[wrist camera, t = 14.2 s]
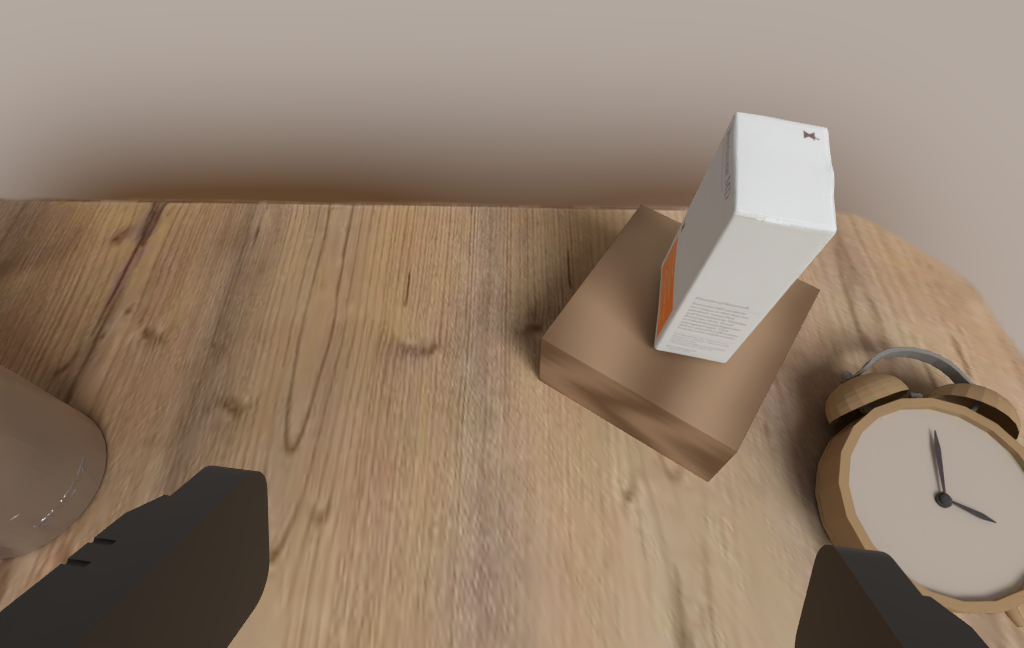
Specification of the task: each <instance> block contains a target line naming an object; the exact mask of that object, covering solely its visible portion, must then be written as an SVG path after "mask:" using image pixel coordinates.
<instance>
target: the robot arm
mask: <svg viewBox="0 0 1024 648" xmlns="http://www.w3.org/2000/svg"><path fill="white" fill-rule="evenodd" d="M106 458H107V454H106V444H105V440H104V438H103V435H102V432H101V430H100V429H99V428H98V426H97V425H96V424H95V423H94V421H93V420H91V419H90V418H88V417H87V416H86V415H84V414H83V413H81V412H79V411H78V410H76V409H74V408H73V407H71V406H69V405H67V404H66V403H64V402H62V401H61V400H59V399H57V398H56V397H54V396H52V395H51V394H49V393H48V392H46V391H44V390H43V389H41V388H39V387H38V386H36V385H34V384H33V383H31V382H29V381H28V380H26V379H24V378H23V377H21V376H19V375H17V374H16V373H14V372H12V371H11V370H9V369H7V368H6V367H4V366H2V365H1V364H0V559H6V558H12V557H16V556H19V555H23V554H26V553H29V552H31V551H33V550H35V549H37V548H39V547H41V546H43V545H46V544H47V543H49V542H50V541H52V540H53V539H55V538H56V537H57V536H59V535H60V534H62V533H63V532H64V531H65V530H66V529H67V528H69V527H70V526H71V525H72V524H73V523H74V522H75V521H76V520H77V519H78V518H79V517H80V515H81V514H82V513H83V512H84V510H85V509H86V508H87V507H88V505H89V504H90V503H91V501H92V499H93V497H94V496H95V494H96V492H97V490H98V488H99V486H100V483H101V480H102V478H103V475H104V472H105V465H106ZM268 571H269V531H268V497H267V483H266V479H265V476H264V475H263V474H262V473H261V472H258V471H251V470H243V469H235V468H227V467H219V466H207V467H205V468H204V469H202V470H201V471H200V472H198V473H197V474H196V475H195V476H194V477H192V478H191V479H190V480H189V481H188V482H186V483H185V484H184V485H183V486H182V487H180V488H179V489H178V490H177V491H176V492H174V493H173V494H172V495H171V496H168V495H163V496H161V497H159V498H157V499H155V500H153V501H150V502H148V503H146V504H144V505H142V506H140V507H138V508H135V509H133V510H131V511H129V512H127V513H125V514H124V515H122V516H121V517H120V518H119V519H117V520H116V521H115V522H114V523H112V524H111V525H110V526H108V527H107V528H106V529H105V530H103V531H102V532H101V533H100V534H98V535H97V536H96V537H95V538H94V541H93V543H87V544H86V545H84V546H83V547H82V548H81V549H79V550H78V551H77V552H76V553H74V554H73V555H72V556H70V557H69V558H68V561H67V563H66V564H65V565H64V564H60V565H59V566H58V567H57V568H55V569H54V570H53V571H51V572H50V573H49V574H48V575H46V576H45V577H44V578H43V579H41V580H40V581H39V582H38V583H36V584H35V585H34V586H32V587H31V588H30V589H29V590H27V591H26V592H25V593H24V594H22V595H21V596H20V597H19V598H17V599H16V600H15V601H13V602H12V603H11V604H10V605H8V606H7V607H6V608H5V609H3V610H2V611H1V612H0V648H227V647H228V645H229V644H230V643H231V641H232V640H233V638H234V637H235V636H236V634H237V633H238V631H239V630H240V628H241V627H242V626H243V624H244V623H245V621H246V620H247V619H248V617H249V616H250V614H251V613H252V612H253V610H254V609H255V607H256V605H257V604H258V602H259V600H260V598H261V595H262V593H263V590H264V587H265V584H266V581H267V576H268ZM795 648H989V647H988V646H987V645H986V643H985V642H984V641H983V640H982V639H981V638H980V636H979V635H978V634H977V633H976V632H975V631H974V629H973V628H972V627H970V626H969V625H968V624H966V623H965V622H964V621H962V620H961V619H960V618H958V617H957V616H956V615H954V614H953V613H952V612H950V611H949V610H948V609H946V608H945V607H944V606H943V605H941V604H940V603H939V602H937V601H936V600H935V599H933V598H932V597H931V596H923V595H922V594H921V593H920V591H919V590H918V589H917V588H916V586H915V585H914V584H913V583H912V582H911V580H910V579H909V578H908V577H907V575H906V574H905V573H904V572H903V570H902V569H901V568H900V567H899V565H898V564H897V563H896V562H895V560H894V559H893V558H892V557H891V556H890V555H889V554H887V553H885V552H882V551H875V550H867V549H859V548H851V547H843V546H835V545H824V546H823V547H821V548H820V550H819V551H818V553H817V555H816V558H815V562H814V566H813V570H812V574H811V578H810V582H809V586H808V590H807V594H806V597H805V601H804V605H803V609H802V613H801V617H800V621H799V625H798V629H797V633H796V639H795Z"/></svg>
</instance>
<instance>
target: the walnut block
mask: <svg viewBox="0 0 1024 648" xmlns="http://www.w3.org/2000/svg"><path fill="white" fill-rule="evenodd" d="M680 226H681V223H679V222H677V221H675V220H672V219H670V218H668V217H666V216H664V215H662V214H660V213H658V212H656V211H654V210H651V209H649V208H647V207H645V206H643V205H640V207H639V208H638V209H637V211H636V212H635V214H634V215H633V216H632V218H631V219H630V220H629V222H628V223H627V224H626V226H625V227H624V228H623V230H622V231H621V232H620V234H619V235H618V236H617V238H616V239H615V240H614V242H613V243H612V244H611V246H610V247H609V248H608V250H607V251H606V252H605V254H604V255H603V256H602V258H601V259H600V260H599V262H598V263H597V264H596V266H595V267H594V269H593V270H592V271H591V273H590V274H589V275H588V277H587V278H586V279H585V281H584V282H583V283H582V285H581V286H580V287H579V289H578V290H577V291H576V293H575V294H574V295H573V297H572V298H571V299H570V301H569V302H568V303H567V305H566V306H565V307H564V309H563V310H562V311H561V313H560V314H559V315H558V317H557V318H556V319H555V321H554V322H553V323H552V325H551V326H550V328H549V329H548V330H547V332H546V333H545V334H544V336H543V337H542V338H541V355H540V373H539V380H540V381H542V382H543V383H545V384H547V385H548V386H550V387H552V388H553V389H555V390H557V391H558V392H560V393H562V394H563V395H565V396H567V397H568V398H570V399H571V400H573V401H575V402H576V403H578V404H580V405H581V406H583V407H585V408H586V409H588V410H590V411H591V412H593V413H595V414H596V415H598V416H600V417H601V418H603V419H605V420H606V421H608V422H609V423H611V424H613V425H614V426H616V427H618V428H619V429H621V430H623V431H624V432H626V433H628V434H629V435H631V436H633V437H634V438H636V439H638V440H639V441H641V442H643V443H644V444H646V445H647V446H649V447H651V448H652V449H654V450H656V451H657V452H659V453H661V454H662V455H664V456H666V457H667V458H669V459H671V460H672V461H674V462H676V463H677V464H679V465H680V466H682V467H684V468H685V469H687V470H689V471H690V472H692V473H694V474H695V475H697V476H699V477H700V478H702V479H704V480H705V481H707V482H709V481H710V480H711V479H712V477H713V476H714V475H715V474H716V473H717V472H718V471H719V470H720V469H721V468H722V467H723V466H724V465H725V464H726V463H727V462H728V461H729V460H730V459H731V458H732V457H733V456H734V455H735V454H736V453H737V451H738V449H739V447H740V445H741V443H742V441H743V440H744V438H745V436H746V434H747V432H748V430H749V428H750V426H751V424H752V422H753V420H754V418H755V416H756V414H757V412H758V410H759V408H760V406H761V404H762V402H763V400H764V398H765V397H766V395H767V393H768V391H769V389H770V387H771V385H772V383H773V381H774V379H775V377H776V375H777V373H778V371H779V369H780V367H781V365H782V363H783V361H784V359H785V357H786V355H787V354H788V352H789V350H790V348H791V346H792V344H793V342H794V340H795V338H796V336H797V334H798V332H799V330H800V328H801V326H802V324H803V322H804V320H805V318H806V316H807V314H808V312H809V310H810V309H811V307H812V305H813V303H814V301H815V299H816V297H817V295H818V293H819V291H820V290H819V289H817V288H815V287H813V286H811V285H809V284H807V283H805V282H802V281H800V280H798V279H796V280H795V281H794V283H793V284H792V285H791V286H790V287H789V289H788V290H787V291H786V292H785V293H784V295H783V296H782V297H781V298H780V299H779V300H778V302H777V303H776V304H775V305H774V307H773V308H772V309H771V310H770V311H769V312H768V313H767V315H766V316H765V317H764V318H763V319H762V321H761V322H760V323H759V324H758V325H757V326H756V328H755V329H754V330H753V331H752V332H751V334H750V335H749V336H748V337H747V338H746V340H745V341H744V342H743V343H742V344H741V345H740V347H739V348H738V349H737V350H736V351H735V353H734V354H733V355H732V356H731V357H730V359H729V360H728V361H727V362H726V363H720V362H716V361H711V360H706V359H701V358H696V357H691V356H686V355H681V354H676V353H671V352H666V351H660V350H657V349H655V348H654V342H655V334H656V324H657V316H658V307H659V294H660V281H661V265H662V263H663V261H664V259H665V257H666V255H667V253H668V251H669V249H670V247H671V244H672V242H673V240H674V238H675V236H676V234H677V232H678V230H679V228H680Z"/></svg>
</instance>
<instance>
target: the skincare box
mask: <svg viewBox="0 0 1024 648" xmlns="http://www.w3.org/2000/svg"><path fill="white" fill-rule="evenodd" d="M836 230H837V228H836V216H835V204H834V171H833V168H832V165H831V155H830V147H829V136H828V130H827V128H825V127H820V126H815V125H809V124H804V123H797V122H793V121H787V120H783V119H778V118H772V117H767V116H761V115H756V114H749V113H742V112H737V113H735V114H734V116H733V118H732V120H731V122H730V124H729V126H728V129H727V131H726V133H725V135H724V137H723V139H722V141H721V143H720V145H719V147H718V149H717V151H716V153H715V156H714V158H713V160H712V162H711V164H710V166H709V168H708V170H707V172H706V174H705V176H704V178H703V180H702V182H701V184H700V186H699V189H698V191H697V193H696V195H695V197H694V199H693V201H692V203H691V205H690V207H689V209H688V211H687V213H686V216H685V218H684V220H683V222H682V224H681V226H680V228H679V230H678V232H677V234H676V236H675V238H674V240H673V242H672V244H671V247H670V249H669V251H668V253H667V255H666V257H665V259H664V261H663V263H662V265H661V281H660V294H659V307H658V316H657V324H656V334H655V342H654V348H655V349H657V350H660V351H666V352H671V353H676V354H681V355H686V356H691V357H696V358H701V359H706V360H711V361H716V362H720V363H726V362H727V361H728V360H729V359H730V357H731V356H732V355H733V354H734V353H735V351H736V350H737V349H738V348H739V347H740V345H741V344H742V343H743V342H744V341H745V340H746V338H747V337H748V336H749V335H750V334H751V332H752V331H753V330H754V329H755V328H756V326H757V325H758V324H759V323H760V322H761V321H762V319H763V318H764V317H765V316H766V315H767V313H768V312H769V311H770V310H771V309H772V308H773V307H774V305H775V304H776V303H777V302H778V300H779V299H780V298H781V297H782V296H783V295H784V293H785V292H786V291H787V290H788V289H789V287H790V286H791V285H792V284H793V283H794V281H795V280H796V279H797V278H798V277H799V276H800V274H801V273H802V272H803V271H804V270H805V269H806V267H807V266H808V265H809V264H810V263H811V261H812V260H813V259H814V258H815V257H816V255H817V254H818V253H819V252H820V251H821V250H822V248H823V247H824V246H825V245H826V244H827V243H828V242H829V240H830V239H831V238H832V237H833V235H834V234H835V233H836Z"/></svg>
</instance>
